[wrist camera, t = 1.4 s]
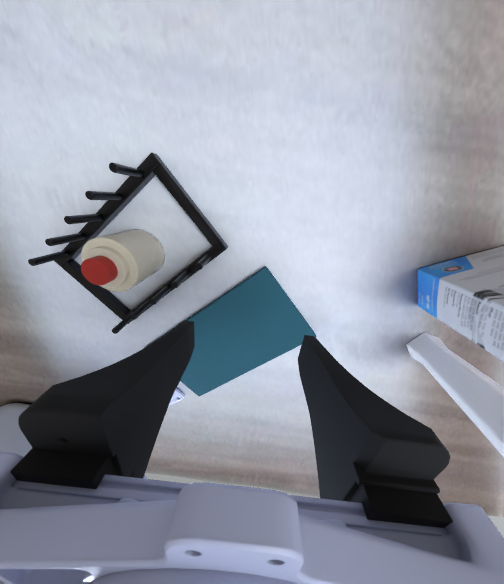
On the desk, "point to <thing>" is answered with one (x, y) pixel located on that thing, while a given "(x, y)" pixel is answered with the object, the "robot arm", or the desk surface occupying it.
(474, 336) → the ink box
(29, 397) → the desk surface
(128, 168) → the drying rack
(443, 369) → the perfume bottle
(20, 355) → the desk surface
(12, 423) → the plastic bottle
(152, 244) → the cream bottle
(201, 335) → the mat
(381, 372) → the desk surface
